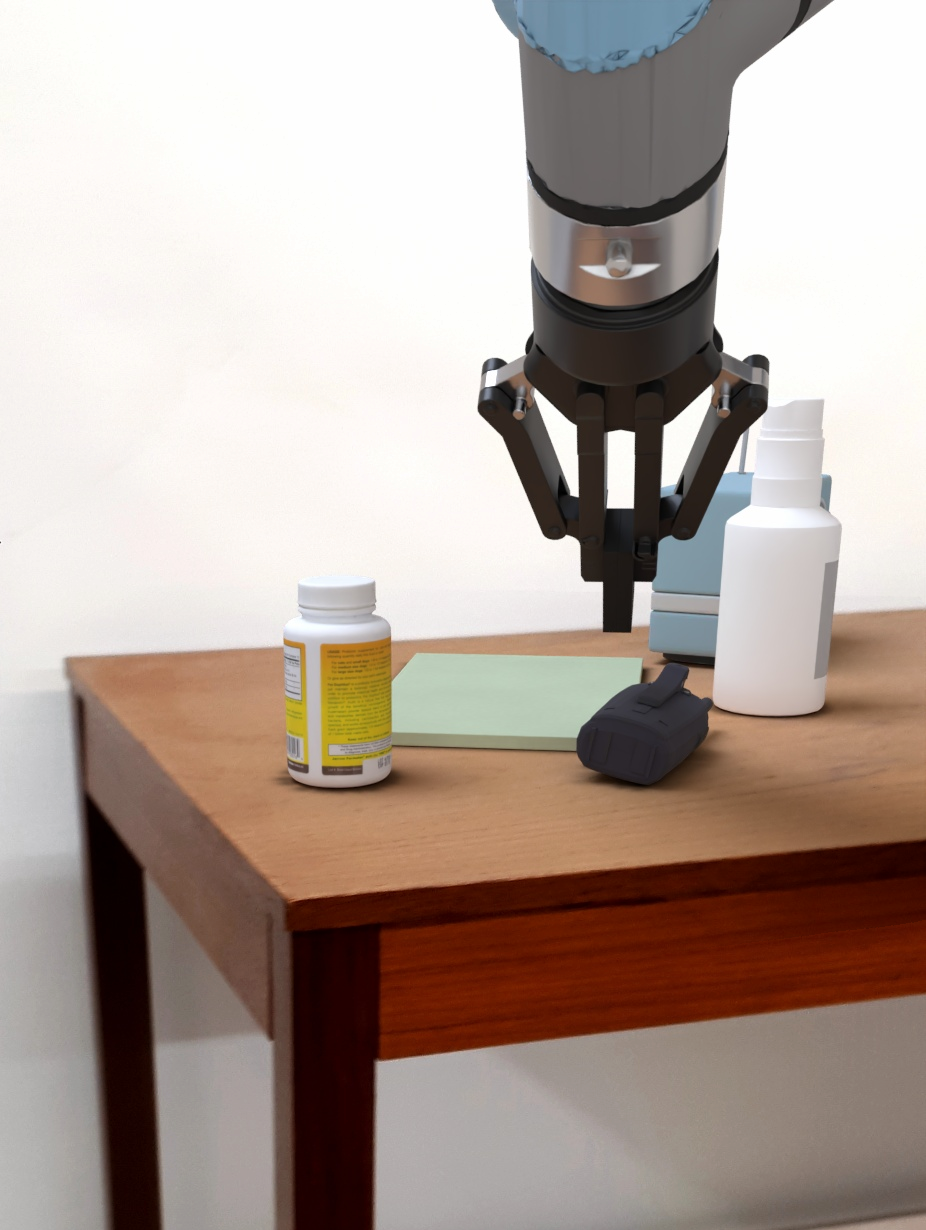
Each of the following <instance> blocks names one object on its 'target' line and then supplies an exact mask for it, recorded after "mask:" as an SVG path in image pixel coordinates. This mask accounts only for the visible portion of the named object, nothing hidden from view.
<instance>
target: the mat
mask: <svg viewBox="0 0 926 1230" xmlns="http://www.w3.org/2000/svg"><path fill="white" fill-rule="evenodd" d="M643 668H644V657H629V656H627V657H624V656H623V657H620V656H581V655H579V656H575V655H535V654H534V655H530V654H529V655H528V654H527V655H525V654H488V653H487V654H484V653H483V654H482V653H442V652H441V653H439V652H438V653H436V652H435V653H434V652H428V653H426V652H416V653H415V654H414V655H413V656H412V658H410V660H409V661H408V662H407V663H406V664H405V666H403V668H402V669H401V671H400V672H399V673H398V674H397V675H395V677H394V678H393V680H392V746H403V747H405V746H407V747H434V748H435V747H436V748H467V749H468V748H469V749H497V750H498V749H499V750H502V749H503V750H528V751H530V750H532V751H534V750H535V751H559V752H560V751H565V752H576V742H577V737H578V734H579V732H580V729H581V727H582V726H583V725H584V724H585V723H586V722H588V721H589V720H590V719H591V717H592V716H593V715H594V714H595V713H596V712H597V711H598V710H599V709H600V708H601V707H603V706H604V705H605V704H606V703H607V702H608V701H609V700H610V699H611V698H612V697H614V696H615V695H616V694H618V693H619V692H621V691H622V690H624V689H625V688H627V687H629V686H631V685H634V684H640V683H642V677H643V676H642V675H643V670H644V669H643Z"/></svg>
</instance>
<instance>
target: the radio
mask: <svg viewBox="0 0 926 1230" xmlns="http://www.w3.org/2000/svg"><path fill="white" fill-rule="evenodd" d="M749 433H750V427H749V428H748V429H747V430H746V431H745V432H744V433H743V434H742V440H741V450H740V456H739V465H738V471H729V472H726V473H725V472H724V473H723V476H722V478H721V480H720V482H719V484H718V487H717V489H716V491H715V493H714V495H713V498H712V500H711V502H710V504H709V506H708V509H707V511H706V513H705V515H704V517H703V520H702V522H701V524H700V526H699V528H698V531H697V533H696V535H695V536H694V537H693V538H691V539H690V540H685V541H684V540H677V539H675V538H674V537H672V535H671V536H668V537H665V538H663V539H662V540H661V541H660V542H659V544H658V562H657V576H656V577H655V579H654V580H653V582H651V590H652V591H653V592H651V595H650V610H651V611H650V614H649V628H648V629H649V631H648V650H649V651H650V652H653V653H659V654H662V657H663V658H664V659H666V660H669V661H674V662H675V661H676V662H682V663H688V664H700V665H710V666H711V665H712V666H715V657H716V644H717V630H718V617H719V604H720V590H721V577H722V564H723V550H724V537H725V525H726V522H727V521H728V520H729V518H730V517H732V516H734V515H735V514H737V513H738V512H740V511H742V510H743V509H745V508H746V507H748V506H749V505H750V504H751V491H752V479H753V475H754V472H755V471H745V468H746V458H747V451H748V445H749V444H748V443H749V436H750V435H749ZM821 475H822V477H823V478H822V489H821V499H820V506H821V507H822V508H823V509H825V510H826V511H827V512H829V513H830V514H831V511H830V505H831V504H830V503H831V493H832V484H833V479H832V478H833V477H832V476H831V474H825V473H821ZM676 484H677V483H676ZM676 484H671V485H666V486H661V498H662V497H666V496H670V495H673V494H674V489H675V487H676Z"/></svg>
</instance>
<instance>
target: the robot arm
mask: <svg viewBox="0 0 926 1230" xmlns="http://www.w3.org/2000/svg"><path fill="white" fill-rule="evenodd" d="M491 2H492V4H493V6H494V9H495V11H496V13H497V15H498V17H499V19H500V20H501V22H502V24H504V26H505V27H506V29H507V30H508V31H509V32H510V33H511V34H512V36H514V37H515V38H516V39H517V40H518V51H519V63H520V64H519V67H520V81H521V95H522V96H521V97H522V98H521V99H522V108H523V109H522V110H523V111H522V112H523V125H524V140H525V141H524V142H525V166H526V167H525V168H526V169H525V171H526V194H527V215H528V216H527V219H528V220H527V221H528V243H529V245H528V246H529V247H528V248H529V250H530V253H531V260H530V284H531V304H532V305H531V306H532V325H533V327H532V328H533V330H532V332H531V333H530V334H529V336H528V338H527V340H526V342H525V346H524V352H525V354H523V355H522V356H520V357H518V358H516V359H514V360H512V361H510V362H509V363H508V361H506V360H505V359H503V358H501V357H500V358H499V357H490V358H487V359H486V360H484V362H483V363H482V366H481V372H480V373H481V374H480V383H479V392H478V399H477V408H476V409H477V413H478V414H479V416H480V417H482V419H483V420H484V421H486V423H488V424H489V426H490V427H492V429H493V430H495V431H496V433H497V434H499V436H501V438H502V440H503V442H504V444H505V447H506V450H507V452H508V455H509V457H510V459H511V461H512V465H513V466H514V468H515V471H516V473H517V475H518V478H519V481H520V483H521V485H522V488H523V490H524V493H525V495H526V498H527V501H528V502H529V505H530V507H531V510H532V511H533V514H534V516H535V519H536V523H537V524H538V527H539V529H540V531H541V534H542V536H544V538H546V539H548V540H552V541H559V540H561V539H564V538H566V536H568V537H571V538H573V539H575V540H577V541H578V543H579V551H580V552H579V554H580V556H579V557H580V558H579V561H580V577H581V578H582V580H583V581H584V582H585V583H602V633H609V634H611V633H614V634H616V633H617V634H618V633H619V634H632V630H633V629H632V628H633V615H634V614H633V613H634V603H635V602H634V601H635V585H636V584H635V583H652V582H653V580H654V579H655V577H656V576H657V562H658V544H659V542H660V541H661V540H662V539H663V538H665V537H668V536H671V535H672V537H674V538H675V539H677V540H684V541H685V540H690V539H691V538H693V537H694V536H695V535H696V533H697V531H698V528H699V526H700V524H701V522H702V520H703V517H704V515H705V513H706V511H707V509H708V506H709V504H710V502H711V500H712V498H713V495H714V493H715V491H716V489H717V487H718V484H719V482H720V480H721V478H722V476H723V474H725V472H726V469H727V467H728V465H729V462H730V460H731V458H732V456H733V453H734V451H735V450H736V447H737V445H738V443H739V441H740V438H741V436H743V433H744V432H745V431H746V430H747V429H748V428H749V429H750V427H752V426H753V425H754V424H755V423H756V422H757V421H758V420H759V419H760V418H761V417H763V414H764V413H765V412H766V410H767V408H768V398H769V391H770V364H771V362H770V360H769V358H768V357H767V356H765V355H764V354H760V353H754V354H751V355H747V356H746V357H745V358H744V359H742V360H740V359H738V358H737V357H735V356H732V355H730V354H728V353H726V352H724V340H723V337H722V335H721V333H720V332H719V330H718V329H717V327H716V325H715V312H716V303H717V301H716V300H717V287H718V275H719V263H720V248H719V245H720V240H721V234H722V229H723V228H722V227H723V214H724V200H725V188H726V177H727V176H726V175H727V161H728V149H729V145H728V144H729V136H730V125H731V123H730V122H731V113H732V111H731V110H732V101H733V100H732V99H733V93H734V92H733V91H734V87H735V84H736V82H737V80H738V79H739V77H740V76H741V74H742V73H743V72H744V71H745V70H747V69H748V68H749V67H751V66H752V65H753V64H755V63H756V62H757V61H758V60H760V59H761V58H762V57H764V56H765V55H766V54H767V53H769V52H770V51H772V49H774V48H775V47H776V46H777V45H779V44H780V43H782V41H784V40H785V39H787V38H788V37H789V36H791V35H792V34H793V33H794V32H795V31H796V30H798V28H800V27H801V26H803V25H804V24H805V23H806V22H807V21H809V20H810V19H812V18H813V17H814V16H816V15H817V14H818V13H820V12H821V11H823V10H824V9H825V8H826V7H827V6H829V5H830V4H831V3H833V2H835V0H491ZM710 387H711V395H710V396H711V397H710V404H709V405H708V408H707V411H706V412H705V414H704V417H703V420H702V422H701V425H700V427H699V429H698V432H697V434H696V437H695V439H694V441H693V443H692V446H691V449H690V451H689V453H688V456H687V458H686V461H685V462H684V465H683V467H682V470H681V472H680V475H679V478H678V480H677V482H676V487H675V489H674V494H673V495H670V496H666V497H662V498H661V488H662V482H663V459H664V435H665V426H667V425H668V424H670V423H671V422H673V421H675V419H677V417H678V416H680V415H681V414H682V413H683V411H685V410H686V409H688V407H689V406H690V405H691V404H692V403H693V402H694V401H696V400H697V399H698V398H699V397H700V396H701V395H702V394H703V393H704V392H705V391H706V390H707V389H709V388H710ZM535 391H537V392H538V393H539V394H540V395H541V396H543V398H545V400H547V402H549V403H550V404H551V405H552V406H553V408H555V409H556V410H557V411H558V412H559V413H560V414H561V415H562V417H564V418H565V419H566V420H567V421H568V422H570V423H571V424H572V425H574V426H576V456H577V477H578V478H577V479H578V480H577V483H578V486H577V487H578V496H576V495H575V496H574V495H571V490H570V487H569V484H568V481H567V479H566V476H565V473H564V470H563V468H562V465H561V463H560V461H559V458H558V455H557V453H556V450H555V447H554V444H553V442H552V440H551V437H550V433H549V431H548V428H547V425H546V424H545V421H544V418H543V415H542V413H541V411H540V408H539V405H538V403H537V399H536V398H535V393H536V392H535ZM617 431H624V432H630V433H634V452H633V453H634V471H633V472H634V476H633V477H634V479H633V507H632V508H631V507H629V508H628V507H625V508H623V507H619V508H618V507H614V508H613V507H608V498H609V497H608V495H609V489H608V475H609V474H608V469H609V467H608V462H609V460H608V459H609V456H608V455H609V433H611V432H617Z"/></svg>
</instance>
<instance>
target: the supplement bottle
mask: <svg viewBox="0 0 926 1230" xmlns="http://www.w3.org/2000/svg"><path fill="white" fill-rule="evenodd" d="M376 592H377V591H376V580H375V579H374V578H372V577H369V576H363V575H354V574H353V575H352V574H351V575H349V574H333V575H332V574H329V575H327V574H326V575H317V576H315V575H314V576H308V577H304V578H301V579H299V580H298V582H297V601H296V603H297V605H298V606H297V612H298V613H300V614H301V615H299V616H296V617H293V618H291V619H290V620H288V621H287V622H286V624H285V625H284V627H283V634H282V635H283V638H282V639H283V668H284V700H285V706H284V707H285V727H286V729H285V730H286V731H285V733H286V735H285V736H286V762H287V771H288V773H289V775H290V777H291V778H293V779H294V780H295V781H296V782H299V783H301V784H304V785H307V786H311V787H317V788H318V787H319V788H332V789H333V788H334V789H338V788H339V789H340V788H341V789H342V788H355V787H357V788H358V787H363V786H368V785H372V784H375V783H378V782H380V781H383V780H384V779H386V778H387V777H388V776H389V774H390V773H391V771H392V767H393V766H392V765H393V745H392V681H393V680H392V678H393V677H392V676H393V675H392V628H391V624H390V622H389V620H387V619H386V618H385V617H383V616H381V615H378V614H373V612H374V611H376V609H377V605H376V603H377V601H378V600H377V596H376Z"/></svg>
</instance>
